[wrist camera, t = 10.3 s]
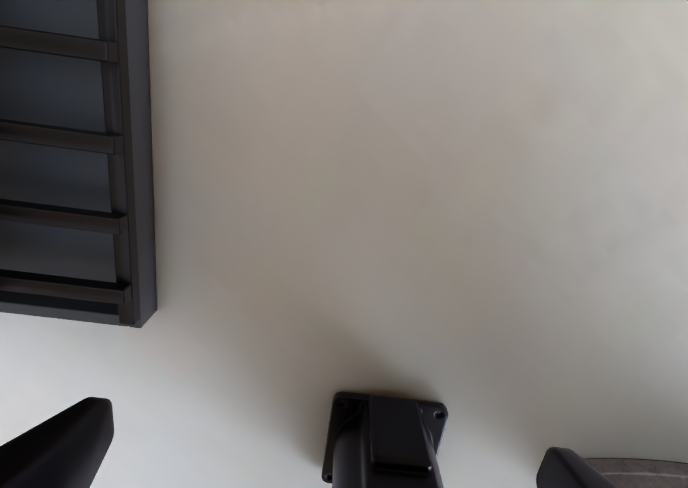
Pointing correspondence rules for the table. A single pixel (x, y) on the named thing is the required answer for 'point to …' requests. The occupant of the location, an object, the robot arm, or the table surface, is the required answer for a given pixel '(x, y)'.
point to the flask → (642, 473)
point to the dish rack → (76, 161)
